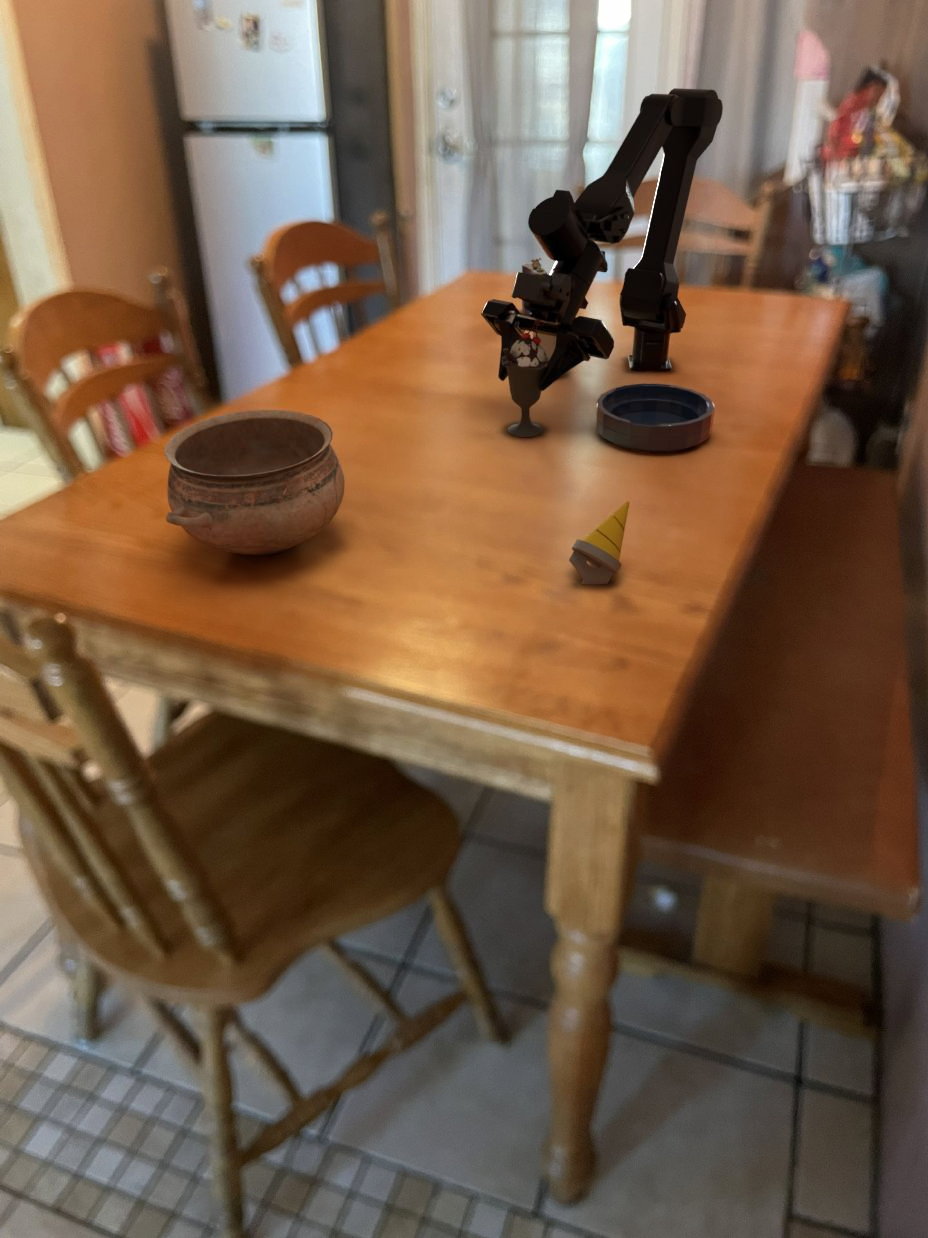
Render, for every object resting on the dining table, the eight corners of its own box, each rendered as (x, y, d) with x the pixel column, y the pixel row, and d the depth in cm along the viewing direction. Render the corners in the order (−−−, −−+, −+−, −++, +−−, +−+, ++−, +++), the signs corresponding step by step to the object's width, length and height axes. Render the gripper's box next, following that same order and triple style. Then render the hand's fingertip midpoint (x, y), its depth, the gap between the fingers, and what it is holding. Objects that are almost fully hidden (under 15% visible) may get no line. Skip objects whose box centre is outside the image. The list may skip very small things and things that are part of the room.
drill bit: (555, 573, 97) (602, 492, 97) (599, 599, 97) (646, 517, 97) (560, 568, 91) (610, 483, 92) (606, 595, 91) (656, 509, 92)
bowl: (593, 411, 133) (594, 383, 131) (702, 411, 132) (705, 383, 129) (597, 455, 120) (599, 425, 118) (718, 456, 119) (722, 426, 117)
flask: (519, 311, 176) (520, 253, 170) (533, 310, 177) (534, 251, 171) (536, 324, 169) (537, 264, 163) (551, 323, 169) (553, 262, 163)
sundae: (554, 423, 129) (557, 316, 121) (542, 442, 124) (544, 331, 116) (509, 419, 131) (509, 313, 123) (495, 437, 126) (494, 327, 118)
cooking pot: (258, 618, 90) (238, 507, 84) (123, 572, 98) (94, 468, 92) (396, 513, 108) (389, 415, 101) (272, 481, 116) (258, 388, 109)
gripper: (488, 236, 122) (438, 340, 121) (608, 254, 112) (554, 367, 111) (523, 284, 131) (476, 381, 130) (636, 305, 121) (586, 409, 120)
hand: (519, 384), depth 123 cm, fingers closed on sundae, 6 cm apart
